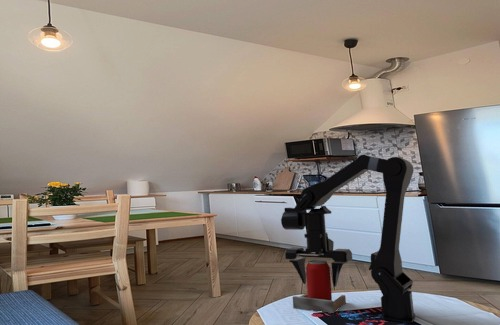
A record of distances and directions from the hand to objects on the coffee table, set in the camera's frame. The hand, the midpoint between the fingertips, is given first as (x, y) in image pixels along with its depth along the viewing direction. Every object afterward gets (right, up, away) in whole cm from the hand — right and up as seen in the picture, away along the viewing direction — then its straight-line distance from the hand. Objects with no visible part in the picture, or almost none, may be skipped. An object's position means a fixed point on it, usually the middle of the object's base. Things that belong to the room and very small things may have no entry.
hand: (319, 285), depth 95 cm
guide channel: (0, -5, -1) cm, 5 cm away
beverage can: (0, -5, -2) cm, 6 cm away
